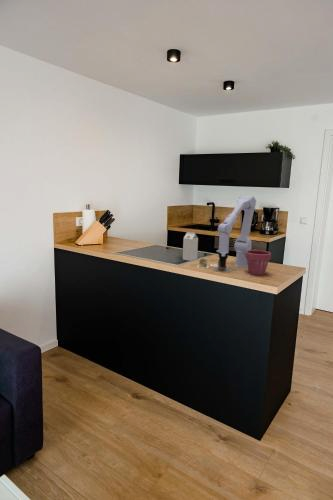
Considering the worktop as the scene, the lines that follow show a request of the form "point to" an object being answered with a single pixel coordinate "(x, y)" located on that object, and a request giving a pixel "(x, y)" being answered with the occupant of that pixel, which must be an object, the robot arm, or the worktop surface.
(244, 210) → the robot arm
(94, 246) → the worktop surface
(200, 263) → the oak block
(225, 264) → the walnut block
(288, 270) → the worktop surface
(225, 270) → the slate coaster
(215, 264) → the code tile
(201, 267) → the code tile
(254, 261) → the plant pot
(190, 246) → the milk carton
